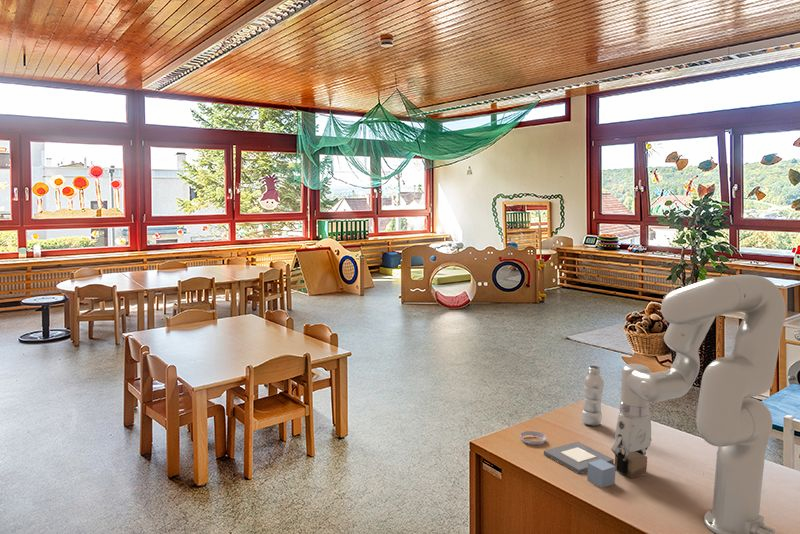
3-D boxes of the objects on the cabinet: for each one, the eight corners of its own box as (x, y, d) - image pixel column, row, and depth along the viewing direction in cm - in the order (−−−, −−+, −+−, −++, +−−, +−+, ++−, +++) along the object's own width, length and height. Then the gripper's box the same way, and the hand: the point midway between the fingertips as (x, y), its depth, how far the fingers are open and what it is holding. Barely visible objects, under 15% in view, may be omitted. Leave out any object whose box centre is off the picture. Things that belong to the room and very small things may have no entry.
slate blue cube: (614, 483, 160) (615, 466, 159) (601, 488, 157) (602, 470, 157) (599, 476, 164) (600, 458, 163) (587, 480, 162) (588, 462, 161)
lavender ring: (551, 442, 186) (551, 436, 186) (536, 449, 181) (536, 443, 181) (529, 434, 192) (529, 429, 192) (515, 441, 187) (515, 435, 187)
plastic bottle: (587, 418, 205) (590, 363, 203) (605, 424, 200) (608, 367, 198) (577, 423, 201) (580, 366, 199) (594, 429, 196) (597, 371, 194)
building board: (613, 463, 172) (613, 458, 171) (578, 473, 165) (579, 469, 165) (577, 445, 184) (577, 440, 184) (543, 454, 177) (543, 450, 177)
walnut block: (646, 473, 165) (647, 456, 165) (631, 478, 163) (632, 461, 162) (628, 465, 171) (629, 448, 170) (614, 469, 168) (615, 452, 167)
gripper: (624, 418, 157) (620, 482, 159) (666, 407, 165) (661, 468, 168) (601, 409, 163) (598, 471, 166) (643, 399, 172) (639, 458, 174)
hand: (630, 469), depth 167 cm, fingers closed on walnut block, 6 cm apart
